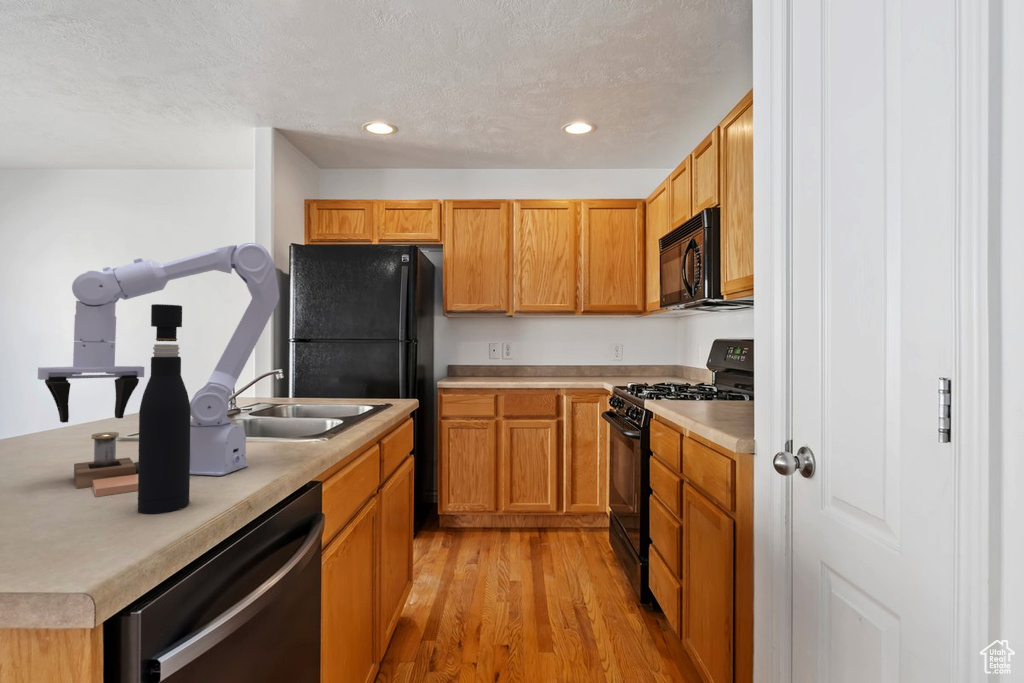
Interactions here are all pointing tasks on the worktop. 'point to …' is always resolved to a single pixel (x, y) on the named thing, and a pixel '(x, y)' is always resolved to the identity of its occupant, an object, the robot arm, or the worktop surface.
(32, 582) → the worktop surface
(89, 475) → the clamp block
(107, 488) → the tile pad
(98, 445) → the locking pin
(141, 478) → the black water bottle
